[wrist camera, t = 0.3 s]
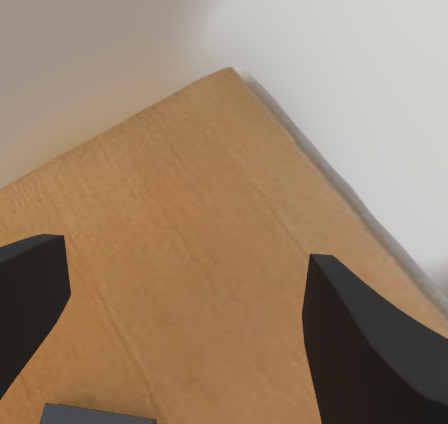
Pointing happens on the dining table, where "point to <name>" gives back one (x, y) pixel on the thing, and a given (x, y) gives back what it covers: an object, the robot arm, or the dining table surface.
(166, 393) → the dining table surface
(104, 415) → the dark grey rectangular slab
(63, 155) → the dining table surface
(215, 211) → the dining table surface
